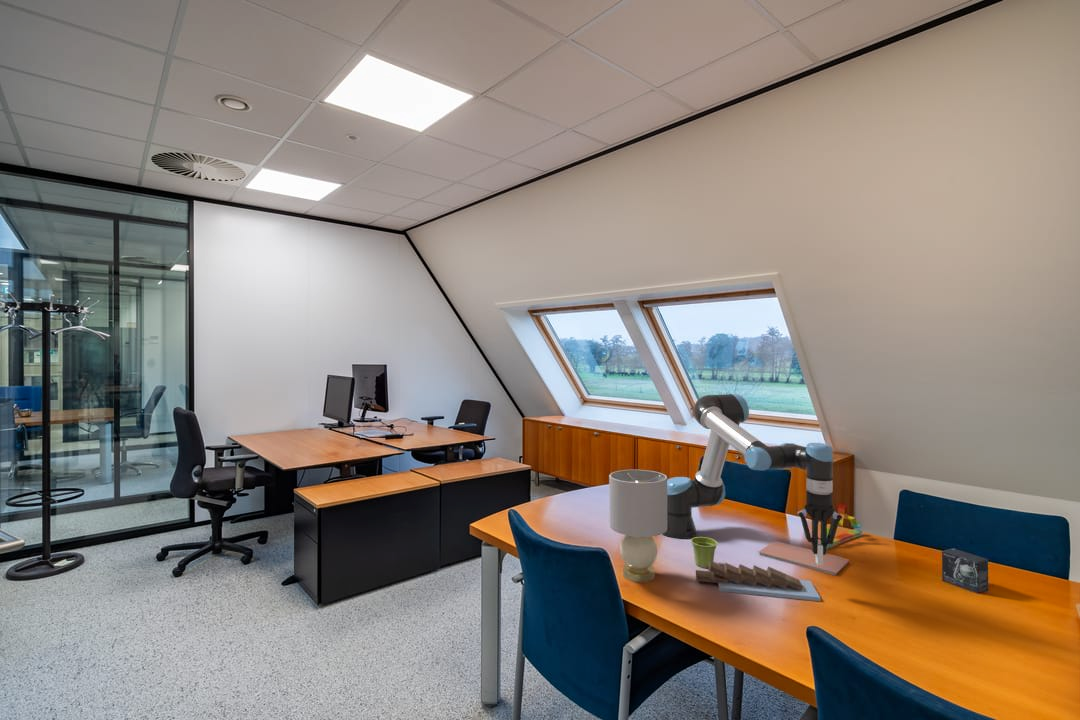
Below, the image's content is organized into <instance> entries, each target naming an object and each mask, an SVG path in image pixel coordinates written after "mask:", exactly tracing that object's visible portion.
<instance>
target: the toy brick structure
mask: <svg viewBox="0 0 1080 720" xmlns="http://www.w3.org/2000/svg"><path fill="white" fill-rule="evenodd" d="M837 513H839V514H840V515H841V516H842V519H841V520H840V521H839V523H838V526H839V527H843V526H844V525H843V524H844V519H846V520H849V522H850V525H851V527H852V528H854V529H851V530H849V531H846V532H844V533H840V534H838V535H835V537H834V541H833V543H832V544H827V546H826V550H828V549H830V548H832V547H835V546H837V545H841V544H843V543H845V542H848V541H850V540H853V539H856V538H859V537H861V536H863V531H862V530H859V528H862V525H860V524H857V520H856V517H855V516H850V515H849V514H848V510H847V506H846V505H844V504H841V503H840V504H838V509H837ZM838 526H837V528H838ZM829 529H830V525H829V526H828V525H827V536H828V532H829ZM853 531H856V532H853ZM857 532H859V533H857ZM818 543H821V537H818Z"/></svg>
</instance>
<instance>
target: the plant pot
mask: <svg viewBox="0 0 1080 720" xmlns="http://www.w3.org/2000/svg"><path fill="white" fill-rule="evenodd" d="M690 543H691V545H692V547H693V554H694V562H695V563H694V564H695V565H696V566H698V567H700V568H705V569H706V568H707V569H709V567H708V564H709V561H712V562H714V558H715V552H716V549H717V546H718V541H717V540H715V539H713V538H711V537H705V536H696V537H695V536H694V537H691V540H690Z"/></svg>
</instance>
